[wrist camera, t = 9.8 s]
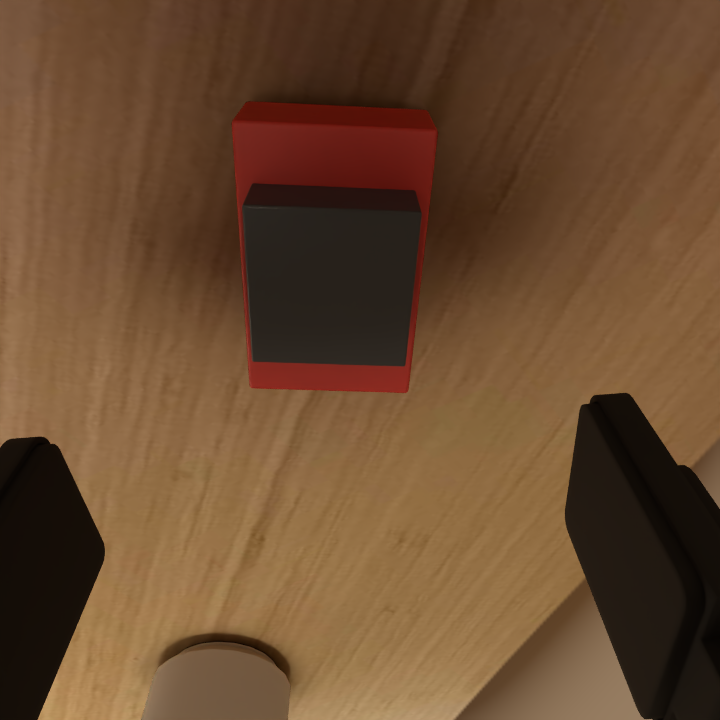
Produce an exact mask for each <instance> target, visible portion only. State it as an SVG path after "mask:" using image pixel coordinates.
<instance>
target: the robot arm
mask: <svg viewBox="0 0 720 720" xmlns="http://www.w3.org/2000/svg"><path fill="white" fill-rule="evenodd" d="M565 521H566V527H567V530H568V533H569V536H570V538H571V541H572V543H573V546H574V549H575V551H576V554H577V556H578V559H579V561H580V564H581V566H582V569H583V572H584V574H585V577H586V579H587V582H588V584H589V587H590V589H591V592H592V595H593V597H594V600H595V602H596V605H597V607H598V610H599V612H600V615H601V617H602V620H603V623H604V625H605V628H606V630H607V633H608V635H609V638H610V641H611V643H612V646H613V648H614V651H615V653H616V656H617V658H618V661H619V664H620V666H621V669H622V671H623V674H624V676H625V679H626V681H627V684H628V686H629V689H630V692H631V694H632V697H633V699H634V702H635V704H636V707H637V709H638V711H639V713H640V715H641V716H642V717H643V718H644V719H653V720H720V509H719V507H718V506H717V504H716V503H715V502H714V500H713V499H712V497H711V496H710V494H709V493H708V491H707V490H706V489H705V487H704V486H703V484H702V483H701V481H700V480H699V478H698V477H697V476H696V474H695V473H694V472H693V471H692V470H691V469H690V468H689V467H687V466H685V465H677V464H676V462H675V461H674V459H673V458H672V456H671V455H670V453H669V452H668V450H667V449H666V447H665V446H664V444H663V443H662V441H661V440H660V438H659V437H658V435H657V434H656V432H655V431H654V429H653V428H652V426H651V425H650V423H649V422H648V420H647V419H646V417H645V416H644V414H643V413H642V411H641V410H640V408H639V407H638V405H637V404H636V402H635V401H634V399H633V398H632V397H631V395H630V394H628V393H618V394H604V395H595V396H593V397H592V398H591V400H590V404H583V405H582V406H581V408H580V412H579V419H578V426H577V433H576V439H575V446H574V453H573V460H572V466H571V473H570V480H569V487H568V494H567V500H566V507H565ZM104 556H105V547H104V543H103V540H102V538H101V536H100V534H99V532H98V530H97V527H96V525H95V523H94V521H93V519H92V517H91V515H90V513H89V510H88V508H87V506H86V504H85V502H84V500H83V498H82V496H81V493H80V491H79V489H78V487H77V485H76V483H75V481H74V479H73V476H72V474H71V472H70V470H69V468H68V466H67V464H66V462H65V459H64V457H63V455H62V453H61V451H60V449H59V448H58V446H57V445H55V444H50V442H49V441H48V440H47V439H46V438H45V437H29V438H16V439H10V440H7V441H6V442H5V443H4V444H3V445H2V446H1V447H0V720H38V717H39V715H40V712H41V710H42V708H43V705H44V703H45V700H46V698H47V696H48V693H49V691H50V689H51V686H52V684H53V681H54V679H55V677H56V674H57V672H58V669H59V667H60V665H61V662H62V660H63V657H64V655H65V653H66V650H67V648H68V646H69V643H70V641H71V638H72V636H73V634H74V631H75V629H76V626H77V624H78V622H79V619H80V617H81V614H82V612H83V610H84V607H85V605H86V602H87V600H88V598H89V595H90V593H91V591H92V588H93V586H94V583H95V581H96V579H97V576H98V574H99V571H100V569H101V567H102V564H103V561H104Z"/></svg>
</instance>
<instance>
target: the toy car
mask: <svg viewBox="0 0 720 720" xmlns="http://www.w3.org/2000/svg"><path fill="white" fill-rule="evenodd" d="M232 135H233V150H234V165H235V179H236V194H237V209H238V223H239V238H240V253H241V267H242V282H243V297H244V311H245V326H246V341H247V355H248V370H249V385H250V387H251V388H263V389H296V390H329V391H362V392H395V393H406V392H408V389H409V381H410V372H411V363H412V354H413V346H414V337H415V328H416V320H417V311H418V302H419V294H420V285H421V276H422V268H423V259H424V250H425V241H426V233H427V224H428V215H429V207H430V198H431V189H432V181H433V172H434V163H435V154H436V146H437V137H438V131H437V129H436V127H435V125H434V123H433V121H432V119H431V117H430V115H429V113H428V111H426V110H419V109H399V108H378V107H357V106H336V105H315V104H295V103H274V102H253V101H248V102H246V103H245V104H244V106H243V107H242V108H241V110H240V111H239V112H238V114H237V115H236V117H235V118H234V119H233V121H232Z"/></svg>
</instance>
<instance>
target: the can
mask: <svg viewBox="0 0 720 720" xmlns="http://www.w3.org/2000/svg"><path fill="white" fill-rule="evenodd" d="M290 687H291V685H290V683H289V681H288V679H287V677H286V675H285V674H284V673H283V672H282V671H281V670H280V669H279V668H277V667H276V665H275V663H274V661H272V660H271V659H270V658H269V657H268V656H267V655H266V654H264V653H262V652H260V651H258V650H256V649H254V648H252V647H249V646H245V645H241V644H237V643H229V642H210V643H202V644H198V645H195V646H192V647H189V648H186V649H185V650H183V651H182V652H181V653H179V654H178V655H176V656H174V657H172V658H170V659H169V660H168V661H166V662H165V663H163V664H162V665H161V666H159V667H158V669H157V671H156V673H155V675H154V677H153V679H152V683H151V686H150V690H149V693H148V697H147V701H146V704H145V708H144V712H143V715H142V719H141V720H288V711H289V699H290Z"/></svg>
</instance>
